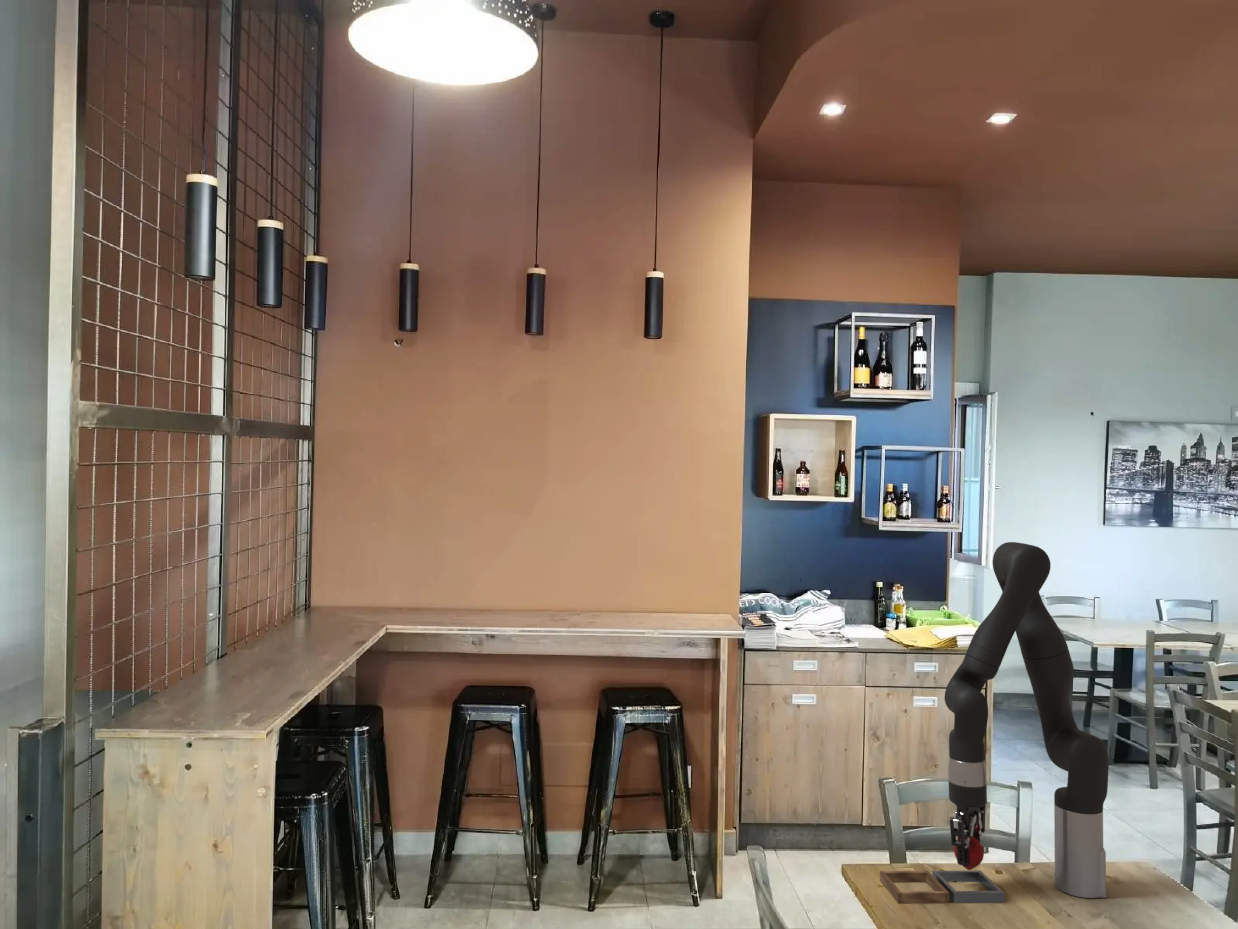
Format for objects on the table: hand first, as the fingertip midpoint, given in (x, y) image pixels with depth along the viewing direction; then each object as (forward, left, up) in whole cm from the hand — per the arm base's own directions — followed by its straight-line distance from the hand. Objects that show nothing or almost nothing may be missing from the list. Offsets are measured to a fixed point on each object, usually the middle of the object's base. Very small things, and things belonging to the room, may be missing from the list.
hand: (969, 860), depth 184 cm
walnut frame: (+11, +5, -6) cm, 14 cm away
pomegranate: (0, 0, -2) cm, 2 cm away
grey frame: (0, 0, -6) cm, 6 cm away
